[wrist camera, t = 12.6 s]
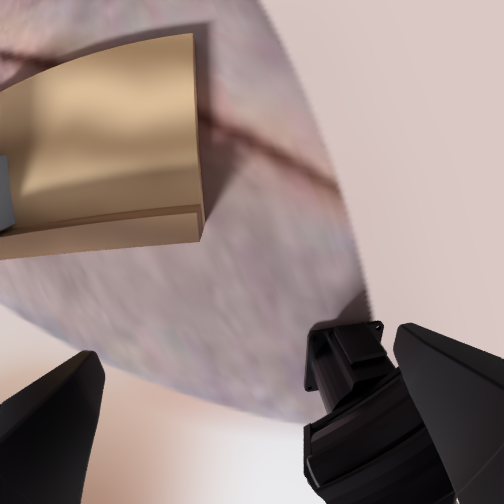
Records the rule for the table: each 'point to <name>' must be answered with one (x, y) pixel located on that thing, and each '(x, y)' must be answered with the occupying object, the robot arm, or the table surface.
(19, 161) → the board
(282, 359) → the table surface
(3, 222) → the block
